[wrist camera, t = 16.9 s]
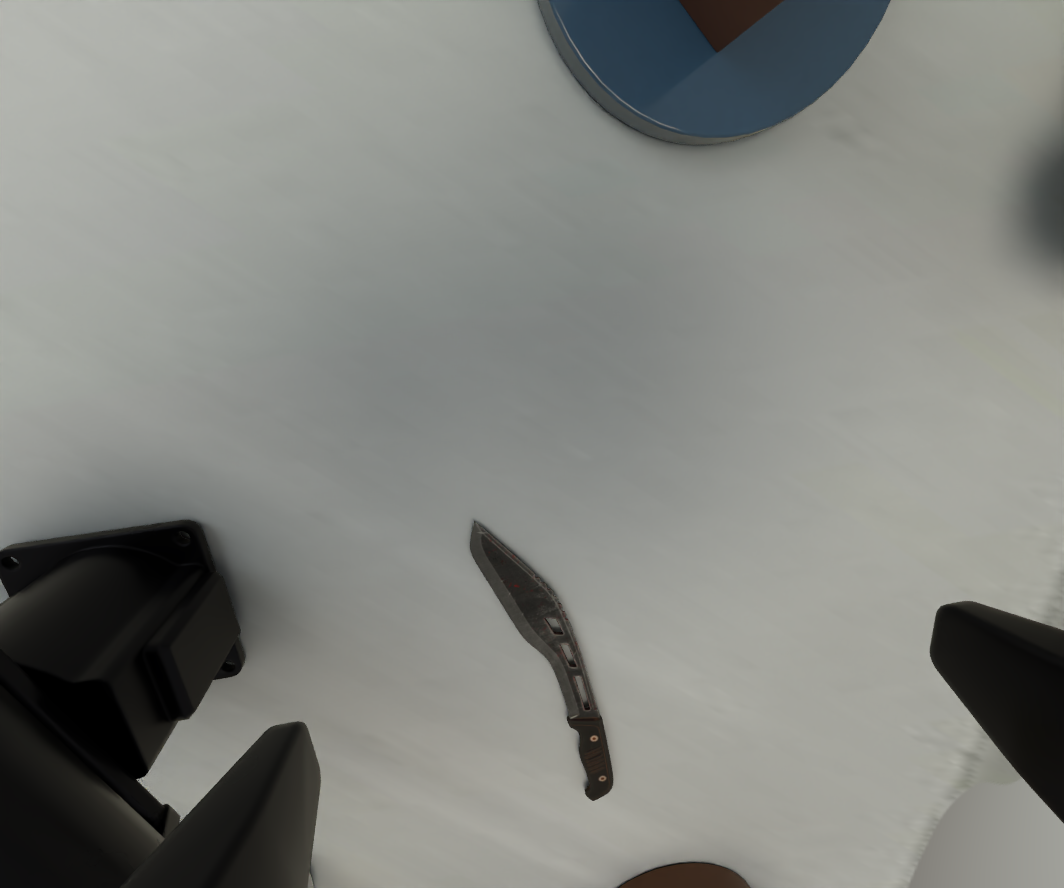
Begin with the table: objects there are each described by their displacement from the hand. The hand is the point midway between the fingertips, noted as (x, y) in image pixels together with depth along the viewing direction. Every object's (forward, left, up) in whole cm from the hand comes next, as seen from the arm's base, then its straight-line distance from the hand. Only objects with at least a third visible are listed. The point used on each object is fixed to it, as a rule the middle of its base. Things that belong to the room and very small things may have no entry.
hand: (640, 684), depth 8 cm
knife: (0, -11, -13) cm, 17 cm away
